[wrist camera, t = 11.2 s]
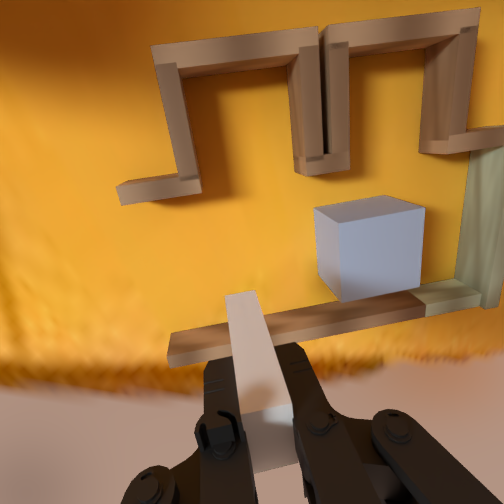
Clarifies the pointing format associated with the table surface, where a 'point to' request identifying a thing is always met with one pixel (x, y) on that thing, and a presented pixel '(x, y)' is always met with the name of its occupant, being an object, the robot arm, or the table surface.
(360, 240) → the block
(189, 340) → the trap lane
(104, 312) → the table surface
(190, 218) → the table surface
